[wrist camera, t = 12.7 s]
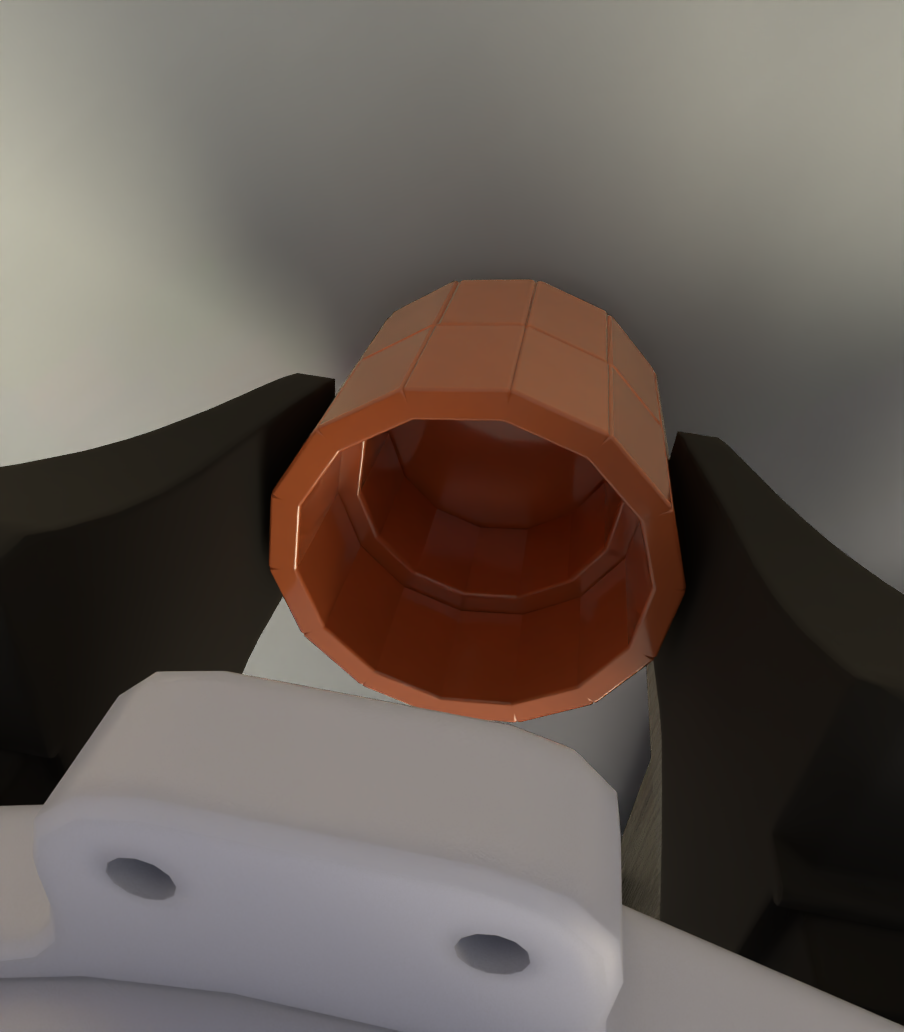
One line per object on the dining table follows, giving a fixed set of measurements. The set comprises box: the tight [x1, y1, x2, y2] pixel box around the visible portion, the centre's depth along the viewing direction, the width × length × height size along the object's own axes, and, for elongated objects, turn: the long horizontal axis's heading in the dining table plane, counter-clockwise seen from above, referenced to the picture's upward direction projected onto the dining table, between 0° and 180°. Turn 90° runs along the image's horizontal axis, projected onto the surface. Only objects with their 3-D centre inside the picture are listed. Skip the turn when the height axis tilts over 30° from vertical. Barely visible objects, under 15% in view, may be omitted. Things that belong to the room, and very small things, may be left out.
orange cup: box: [269, 279, 687, 722], centre depth 11 cm, size 5×5×4 cm
